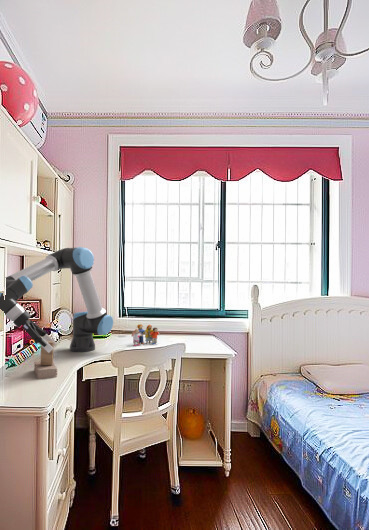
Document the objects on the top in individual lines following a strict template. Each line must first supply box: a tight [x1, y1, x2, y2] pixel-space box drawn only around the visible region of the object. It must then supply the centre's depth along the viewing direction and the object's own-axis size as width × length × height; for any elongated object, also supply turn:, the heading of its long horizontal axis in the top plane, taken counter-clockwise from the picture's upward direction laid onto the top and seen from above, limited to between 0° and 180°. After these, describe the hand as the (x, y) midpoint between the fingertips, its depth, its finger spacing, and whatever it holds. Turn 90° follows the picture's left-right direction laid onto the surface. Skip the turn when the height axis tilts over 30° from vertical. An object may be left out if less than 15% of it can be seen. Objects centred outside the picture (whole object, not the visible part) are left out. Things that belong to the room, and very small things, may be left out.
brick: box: [33, 361, 58, 380], centre depth 173 cm, size 17×8×5 cm, turn 28°
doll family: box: [131, 324, 161, 347], centre depth 250 cm, size 21×10×13 cm, turn 123°
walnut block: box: [40, 340, 55, 365], centre depth 174 cm, size 5×5×10 cm
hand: (52, 347), depth 174 cm, fingers open, 13 cm apart
